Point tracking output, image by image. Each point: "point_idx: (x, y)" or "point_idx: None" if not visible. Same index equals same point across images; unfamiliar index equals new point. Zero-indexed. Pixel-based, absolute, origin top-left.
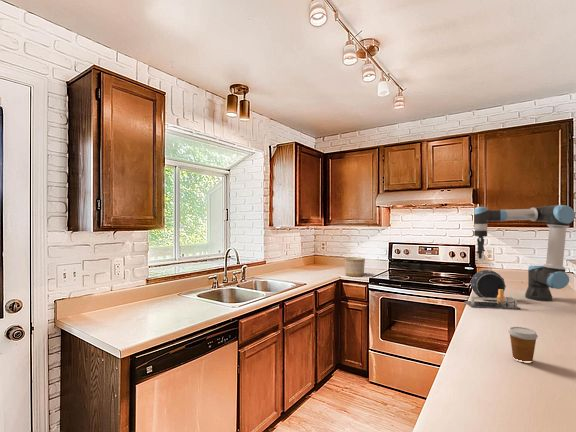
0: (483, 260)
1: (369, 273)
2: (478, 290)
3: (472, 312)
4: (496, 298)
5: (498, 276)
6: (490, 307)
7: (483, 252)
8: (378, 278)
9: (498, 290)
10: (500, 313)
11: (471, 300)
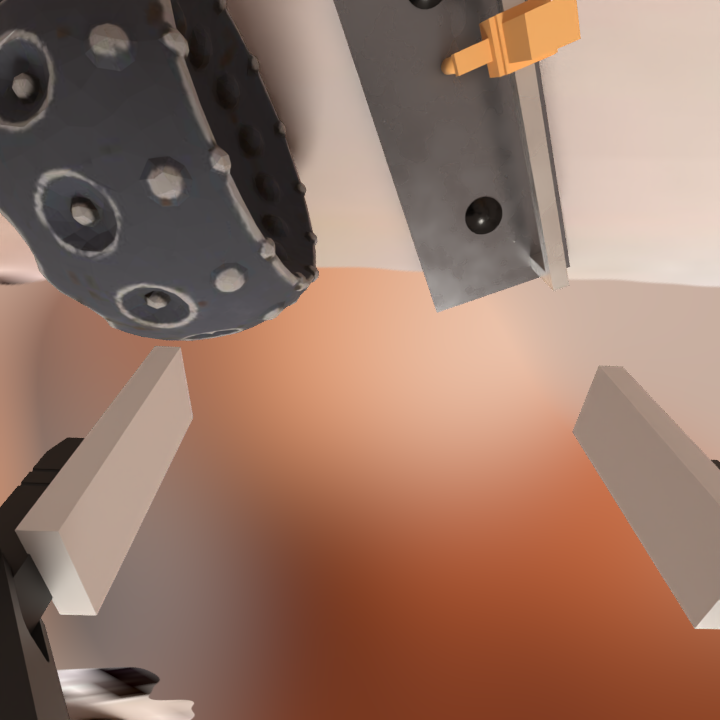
0: (176, 359)
1: None
2: (312, 246)
3: (701, 255)
4: (536, 85)
5: (175, 30)
6: (547, 135)
7: (77, 507)
8: (90, 678)
9: (530, 59)
10: (694, 60)
11: (542, 279)
